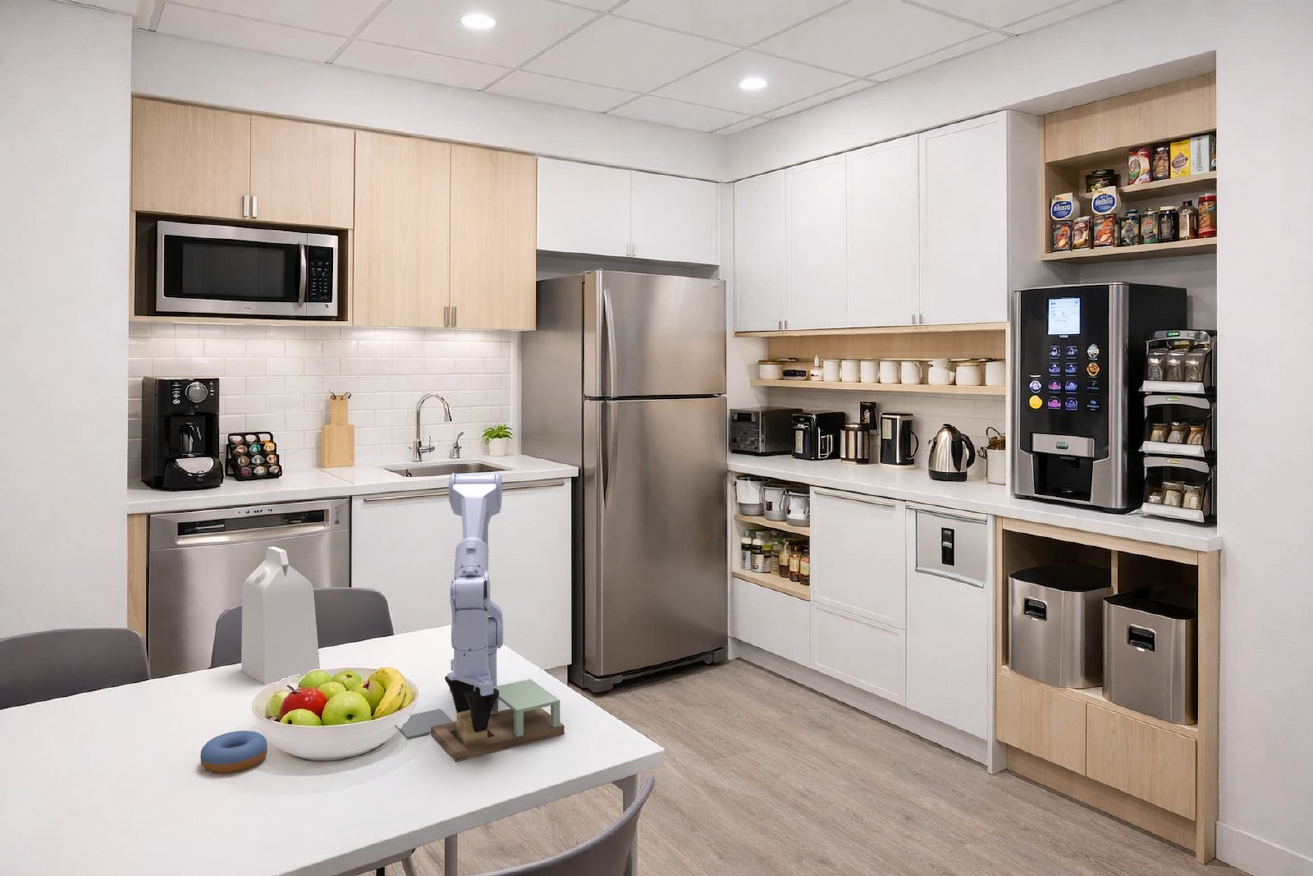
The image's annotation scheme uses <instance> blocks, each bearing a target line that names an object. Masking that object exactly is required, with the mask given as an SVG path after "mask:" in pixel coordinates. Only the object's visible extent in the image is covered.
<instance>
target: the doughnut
mask: <svg viewBox="0 0 1313 876" xmlns="http://www.w3.org/2000/svg"><path fill="white" fill-rule="evenodd" d="M267 753H268V741H267V738H266V737H265V736H264V735H263V734H262V733H260V732H257V731H253V730H236V731H229V732H226V733H222V734H220V735H217V736H215V737H213V738H211V739H210V740H208V741H206V743H205V744H204V745H203V746H202V748H201V750H200V764H201V765H202V767H203V768H204V769H205V770H206V771H208V772H210V773H213V774H233V773H238V772H239V771H240V772H242V771H245V770H248V769H252V768H253V767H256V766H257V765H258V764H260V763H261V762H262V761H263V760H264V759H265V757H266V756H267Z"/></svg>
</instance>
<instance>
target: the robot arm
mask: <svg viewBox="0 0 1313 876" xmlns="http://www.w3.org/2000/svg"><path fill="white" fill-rule="evenodd" d="M502 478H503V476H502V475H501V474H500V472H495V473H491V472H490V473H488V472H487V473H455V472H452V473H451V474H450V476H449V477H448V502H449V504H450V508H451V509H450V510H452V513H453V514H454V515H457V516H459V517H461V521H462V541H460V542H458V544H456V545H457V546H456V547H455V555H454V557H455V560H454V575H453V580H452V579H451V581H450V585H449V603H450V605H449V606H450V609H451V620H452V621H451V627H450V628H451V632H450V633H451V635H450V638H451V640H450V642H451V648H452V649H453V659H450V671H451V672H449V673H447V675H446V676H445V677H444V680H445V682H446V685H448V687H449V690H450V692H451V693H450V694H451V695H452V699H453V703H454V708H455V712H456V714H457V713H459V712H463V711H468V710H470V712H471V719H472V726H473V730H474V732H480V731H485V730H487V727H488V723H489V718H490V714H491V711H492V708H493V705H494V703H495V701H496V699H497V698H498V696H499V690H497V689H496V688H493V687H495V686H498V677H497V676H498V665H497V661H498V660H497V659H498V658H497V656H498V655H497V653H498V649H501V648H502V647H503V646H504V618H503V610H502V608H501V607H500V605H498V604H496V603H495V602H494V601H493V600H491V580H490V576H489V575H490V574H489V556H490V555H489V553H490V552H489V551H490V549H489V525H490V521H491V519H492V517H493V516H495V515H498V514H500V513H501V509H502V502H503V483H502V482H503V481H502Z"/></svg>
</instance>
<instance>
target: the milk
mask: <svg viewBox="0 0 1313 876" xmlns="http://www.w3.org/2000/svg"><path fill="white" fill-rule="evenodd" d="M241 589H242V592H241V605H242V606H241V662H240V663H241V666H240V670H241V671H242V672H244V673H245V674H247V675H248V676H250V677H252V678H254V679H255V680H257V681H259V682H260V683H261V684H263V685H264V686H265V685H269V684H270V685H271V684H273V682H274V683H277V682H281V681H280V680H281V679H283V678H288V677H289V676H293V675H297V674H303V673H307V672H309V671H311V670H314V669H320V670H321V665H320V663H321V661H320V653H319V652H320V651H319V641H318V640H319V639H318V631H317V630H318V626H317V617H316V616H317V615H316V603H315V591H314V586H313V584H312V582H311V581H310V580H309V579H307V577H305V576H304V575H303V574H301V573H300V572H299V571H297V570H296V569H295V568H293V566H291V565H290V564H289V559H288V553H287V550H285V549H282V548H279V547H276V546H269V547H267V550H266V556H265V560H263V562H262V563H260V564H259V565H258V567H257V568H256V569H254V571H253V572H252V573H250V575H249V576H248V577H247V578H246V580H245V581H244V582H243V585H242V588H241Z"/></svg>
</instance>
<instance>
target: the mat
mask: <svg viewBox="0 0 1313 876" xmlns="http://www.w3.org/2000/svg"><path fill="white" fill-rule="evenodd" d="M410 715H411V716H410V718H409V719H408V721H407V722H406V723H404V724H403V726H402V728H401V729H400V730H399V731H400V732H401V733H402V734H403V735H404V737H405V738H406V739H407V740H411V739H414V738H413V737H415V738H419V737H423V735H424V736H427V735H426V734H428V735H431V734H430V733H431V727H432V726H437V725H441V724H445V723H450V722H454V721H453V720H452V719H451V717H449V716H448V715H447V714H446V713H445V712H444V711H443V710H442V708H435V709H432V710H426V711H422V712H418V713H413V714H410ZM410 738H411V739H410Z"/></svg>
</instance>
